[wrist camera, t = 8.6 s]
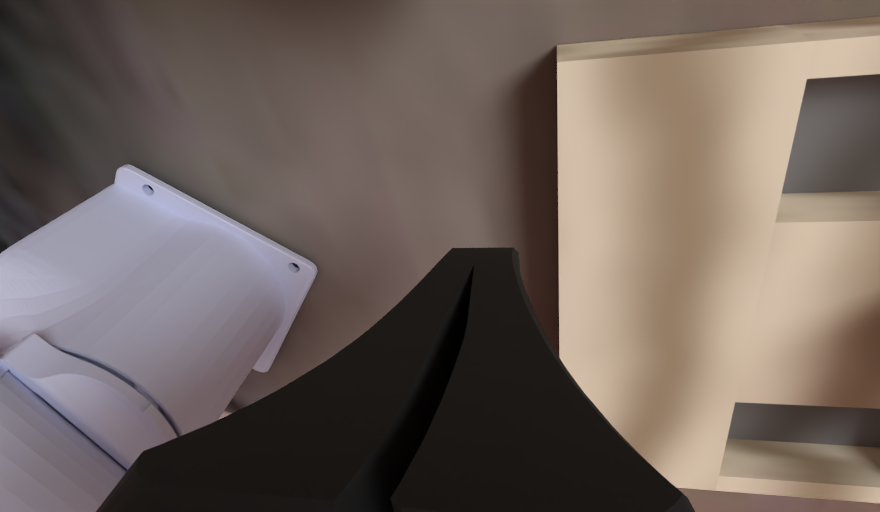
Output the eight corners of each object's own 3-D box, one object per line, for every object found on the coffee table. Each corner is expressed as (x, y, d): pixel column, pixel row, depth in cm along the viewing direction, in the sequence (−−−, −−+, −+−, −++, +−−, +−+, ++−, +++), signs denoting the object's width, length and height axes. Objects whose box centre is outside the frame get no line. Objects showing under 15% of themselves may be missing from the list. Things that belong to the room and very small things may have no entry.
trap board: (560, 436, 28) (560, 517, 24) (556, 45, 18) (557, 79, 14) (993, 462, 24) (1075, 565, 20) (1286, -20, 14) (1551, 4, 10)
